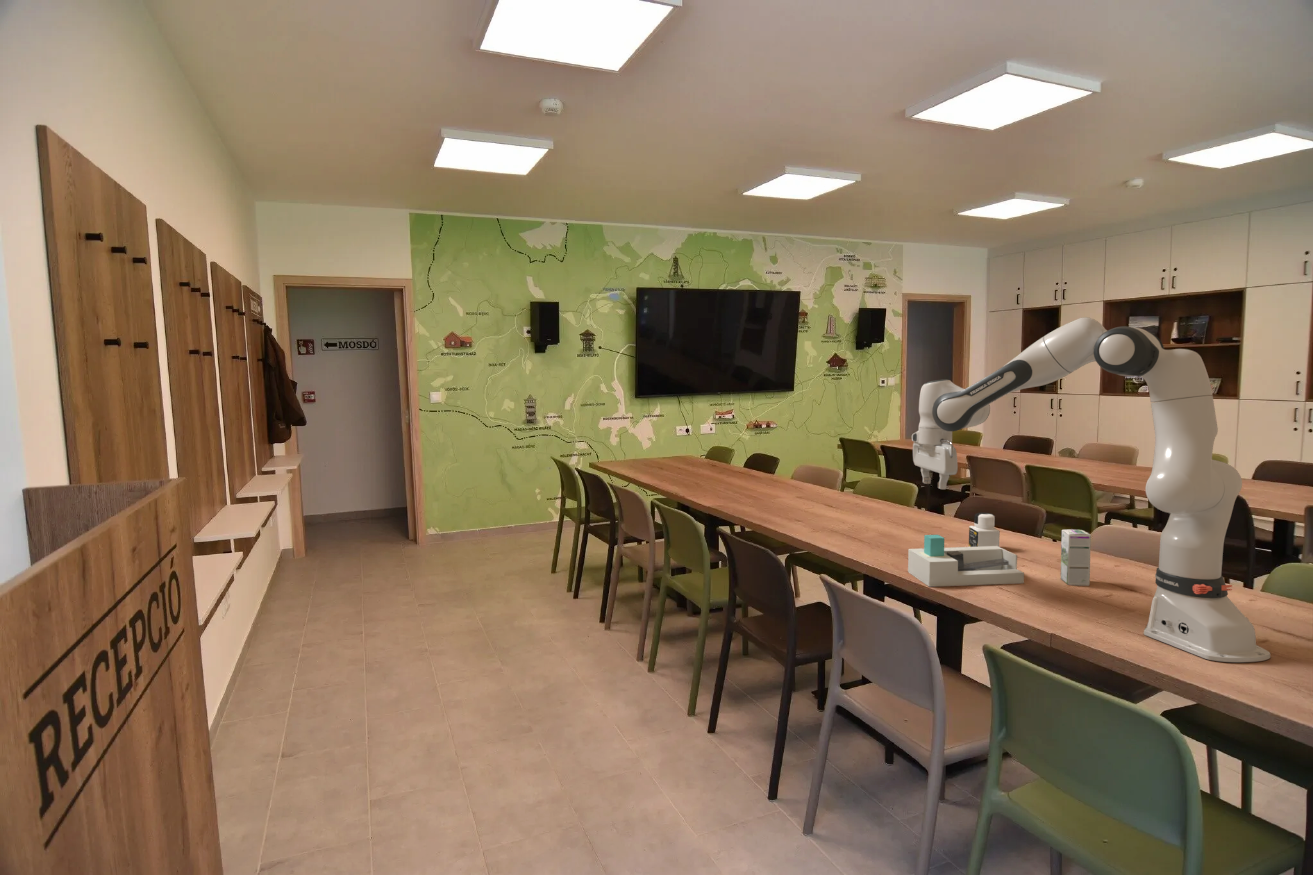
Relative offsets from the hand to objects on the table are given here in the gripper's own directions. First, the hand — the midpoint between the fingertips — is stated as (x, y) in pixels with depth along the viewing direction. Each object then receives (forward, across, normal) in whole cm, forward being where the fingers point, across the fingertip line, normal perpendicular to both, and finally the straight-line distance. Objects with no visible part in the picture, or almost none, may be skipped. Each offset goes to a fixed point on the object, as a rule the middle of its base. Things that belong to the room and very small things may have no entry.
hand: (934, 486), depth 197 cm
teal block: (+20, 0, 0) cm, 20 cm away
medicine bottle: (+27, +29, -31) cm, 50 cm away
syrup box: (+27, -8, -37) cm, 47 cm away
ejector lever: (+24, 0, -14) cm, 28 cm away
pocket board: (+27, 0, -9) cm, 28 cm away
